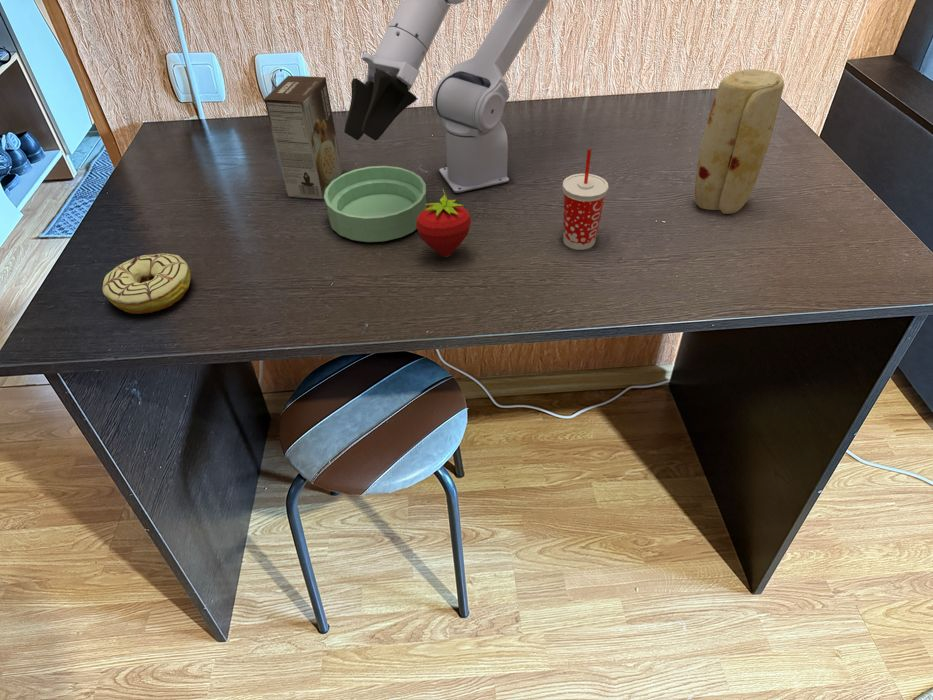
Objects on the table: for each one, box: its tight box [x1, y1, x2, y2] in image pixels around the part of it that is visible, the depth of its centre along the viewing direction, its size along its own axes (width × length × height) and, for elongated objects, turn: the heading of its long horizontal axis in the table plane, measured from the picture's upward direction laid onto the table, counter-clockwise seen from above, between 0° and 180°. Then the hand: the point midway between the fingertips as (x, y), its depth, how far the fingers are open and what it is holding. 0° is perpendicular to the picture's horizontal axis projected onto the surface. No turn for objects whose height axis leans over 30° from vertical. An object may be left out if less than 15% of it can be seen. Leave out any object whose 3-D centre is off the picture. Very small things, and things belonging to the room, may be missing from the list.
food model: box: [694, 68, 785, 215], centre depth 92 cm, size 10×7×20 cm
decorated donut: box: [102, 253, 192, 315], centre depth 85 cm, size 10×11×4 cm
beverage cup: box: [562, 148, 609, 251], centre depth 89 cm, size 6×6×14 cm
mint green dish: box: [323, 165, 429, 243], centre depth 98 cm, size 15×15×4 cm
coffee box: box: [263, 75, 343, 200], centre depth 101 cm, size 9×6×16 cm
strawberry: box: [416, 188, 472, 258], centre depth 88 cm, size 6×8×10 cm
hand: (359, 136), depth 84 cm, fingers open, 7 cm apart
